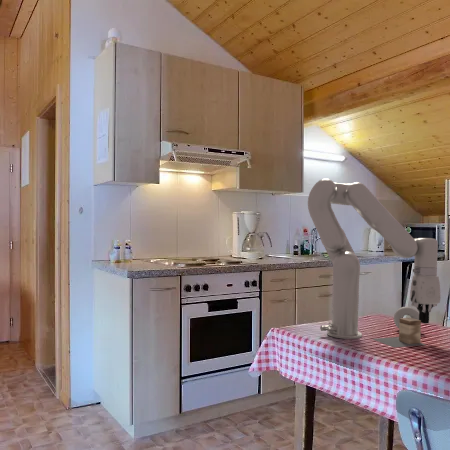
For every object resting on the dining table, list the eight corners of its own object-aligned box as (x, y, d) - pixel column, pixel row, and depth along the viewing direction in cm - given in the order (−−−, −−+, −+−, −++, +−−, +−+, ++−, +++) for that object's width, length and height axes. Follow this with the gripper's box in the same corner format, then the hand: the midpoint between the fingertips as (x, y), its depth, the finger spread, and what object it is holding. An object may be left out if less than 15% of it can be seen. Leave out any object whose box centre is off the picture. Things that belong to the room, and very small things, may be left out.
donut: (419, 332, 179) (420, 306, 179) (420, 333, 176) (421, 308, 176) (393, 329, 182) (393, 304, 182) (393, 331, 179) (394, 306, 179)
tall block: (408, 344, 158) (409, 321, 158) (399, 340, 162) (399, 318, 163) (420, 343, 159) (420, 320, 159) (410, 339, 164) (410, 317, 164)
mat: (394, 348, 153) (394, 347, 153) (371, 339, 164) (371, 338, 164) (426, 346, 157) (426, 344, 157) (402, 337, 169) (402, 336, 169)
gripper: (416, 273, 157) (414, 325, 157) (449, 273, 162) (448, 324, 162) (401, 271, 164) (399, 321, 164) (433, 271, 169) (432, 319, 169)
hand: (423, 322), depth 163 cm, fingers closed
